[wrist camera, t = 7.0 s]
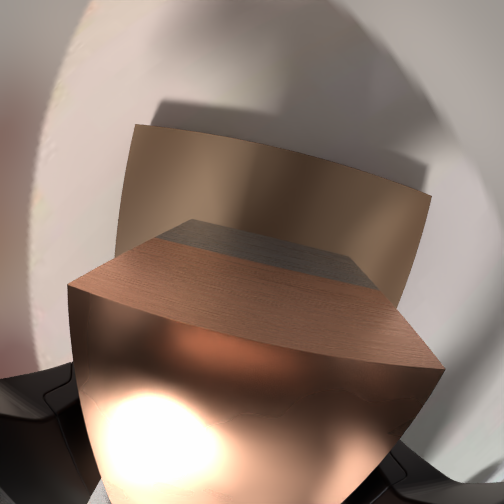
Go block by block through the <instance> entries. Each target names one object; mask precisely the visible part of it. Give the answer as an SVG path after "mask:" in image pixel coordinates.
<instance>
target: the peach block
mask: <svg viewBox="0 0 504 504" xmlns="http://www.w3.org/2000/svg"><path fill="white" fill-rule="evenodd" d="M67 288H68V312H69V326H70V337H71V346H72V354H73V362H74V369H75V375H76V381H77V387H78V392H79V397H80V402H81V407H82V412H83V416H84V420H85V424H86V428H87V432H88V436H89V440H90V443H91V447H92V450H93V453H94V457H95V460H96V463H97V466H98V469H99V472H100V475H101V478H102V481H103V483H104V486H105V489H106V491H107V494H108V496H109V499H110V501H111V504H341V503H342V502H343V501H344V500H345V499H346V498H347V497H348V496H349V495H350V494H351V493H352V492H353V491H354V490H355V489H356V488H357V487H358V486H359V485H360V484H361V483H362V482H363V481H364V480H365V479H366V478H367V477H368V476H369V474H370V473H371V472H372V471H373V470H374V469H375V468H376V467H377V466H378V464H379V463H380V462H381V461H382V460H383V459H384V457H385V456H386V455H387V454H388V453H389V451H390V450H391V449H392V448H393V447H394V445H395V444H396V443H397V441H398V440H399V439H400V438H401V436H402V435H403V434H404V432H405V431H406V430H407V428H408V427H409V426H410V424H411V423H412V421H413V420H414V419H415V417H416V416H417V414H418V413H419V411H420V410H421V408H422V407H423V405H424V404H425V402H426V401H427V399H428V398H429V396H430V395H431V393H432V391H433V390H434V388H435V386H436V385H437V383H438V381H439V380H440V378H441V376H442V375H443V373H444V371H445V368H444V366H443V365H442V364H441V363H440V361H439V360H438V359H437V357H436V356H435V355H434V354H433V352H432V351H431V350H430V349H429V347H428V346H427V345H426V344H425V342H424V341H423V340H422V339H421V338H420V336H419V335H418V334H417V333H416V332H415V330H414V329H413V328H412V327H411V326H410V324H409V323H408V322H407V321H406V320H405V318H404V317H403V316H402V315H401V314H400V313H399V311H398V310H397V309H396V308H395V307H394V306H393V304H392V303H391V302H390V301H389V300H388V299H387V298H386V296H385V295H384V294H383V293H382V292H381V291H380V290H379V289H378V287H377V286H376V285H375V284H374V283H373V282H372V281H371V280H370V279H369V278H368V276H367V275H366V274H365V273H364V272H363V271H362V270H361V269H360V268H359V267H358V266H357V264H356V263H355V262H354V261H353V260H352V259H351V258H350V257H349V256H346V255H342V254H338V253H334V252H330V251H326V250H322V249H318V248H314V247H310V246H305V245H301V244H297V243H293V242H289V241H285V240H281V239H277V238H272V237H268V236H264V235H260V234H256V233H251V232H247V231H243V230H239V229H234V228H230V227H226V226H221V225H217V224H213V223H208V222H204V221H199V220H195V219H190V220H188V221H186V222H184V223H182V224H180V225H178V226H176V227H174V228H172V229H170V230H168V231H166V232H164V233H162V234H160V235H158V236H156V237H154V238H152V239H150V240H148V241H146V242H144V243H142V244H140V245H138V246H137V247H135V248H133V249H131V250H129V251H127V252H125V253H123V254H121V255H119V256H118V257H116V258H114V259H112V260H110V261H108V262H106V263H105V264H103V265H101V266H99V267H97V268H95V269H94V270H92V271H90V272H88V273H86V274H85V275H83V276H81V277H79V278H78V279H76V280H74V281H72V282H71V283H69V284H67Z"/></svg>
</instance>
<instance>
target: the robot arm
mask: <svg viewBox="0 0 504 504" xmlns="http://www.w3.org/2000/svg"><path fill="white" fill-rule="evenodd" d="M100 479H101V475H100V472H99V469H98V466H97V463H96V460H95V457H94V453H93V450H92V447H91V443H90V440H89V436H88V432H87V428H86V424H85V420H84V416H83V412H82V407H81V402H80V397H79V392H78V387H77V381H76V375H75V369H74V362H72V363H71V362H69V363H66V364H63V365H60V366H57V367H54V368H50V369H47V370H43V371H38V372H34V373H30V374H24V375H19V376H14V377H9V378H3V379H0V504H87V503H88V501H89V499H90V496H91V495H92V494H93V492H94V490H95V488H96V486H97V485H98V483H99V481H100ZM341 504H504V482H496V483H460V482H457V481H454V480H452V479H450V478H448V477H447V476H445V475H444V474H443V473H441V472H440V471H439V470H437V469H436V468H434V467H433V466H432V465H430V464H429V463H428V462H426V461H425V460H424V459H422V458H421V457H420V456H418V455H417V454H416V453H415V452H413V451H412V450H411V449H410V448H409V447H408V446H406V445H405V444H404V443H403V442H402V441H401V440H400V439H399V440H398V441H397V443H396V444H395V445H394V447H393V448H392V449H391V450H390V451H389V453H388V454H387V455H386V456H385V457H384V459H383V460H382V461H381V462H380V463H379V464H378V466H377V467H376V468H375V469H374V470H373V471H372V472H371V473H370V474H369V476H368V477H367V478H366V479H365V480H364V481H363V482H362V483H361V484H360V485H359V486H358V487H357V488H356V489H355V490H354V491H353V492H352V493H351V494H350V495H349V496H348V497H347V498H346V499H345V500H344V501H343V502H342V503H341Z"/></svg>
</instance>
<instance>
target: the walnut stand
mask: <svg viewBox="0 0 504 504" xmlns="http://www.w3.org/2000/svg"><path fill="white" fill-rule="evenodd" d="M431 198H432V196H431V195H428V194H426V193H423V192H421V191H418V190H415V189H413V188H410V187H407V186H405V185H402V184H399V183H397V182H394V181H391V180H388V179H385V178H382V177H379V176H376V175H373V174H370V173H367V172H364V171H361V170H358V169H355V168H352V167H348V166H345V165H342V164H338V163H335V162H331V161H328V160H324V159H321V158H317V157H313V156H310V155H306V154H302V153H298V152H294V151H290V150H286V149H282V148H278V147H273V146H269V145H264V144H260V143H255V142H250V141H245V140H240V139H235V138H230V137H225V136H219V135H213V134H207V133H201V132H195V131H188V130H181V129H174V128H166V127H158V126H149V125H139V124H135V128H134V132H133V137H132V141H131V146H130V151H129V156H128V161H127V166H126V172H125V178H124V184H123V190H122V197H121V203H120V211H119V219H118V227H117V237H116V247H115V258H116V257H118V256H119V255H121V254H123V253H125V252H127V251H129V250H131V249H133V248H135V247H137V246H138V245H140V244H142V243H144V242H146V241H148V240H150V239H152V238H154V237H156V236H158V235H160V234H162V233H164V232H166V231H168V230H170V229H172V228H174V227H176V226H178V225H180V224H182V223H184V222H186V221H188V220H190V219H195V220H199V221H204V222H208V223H213V224H217V225H221V226H226V227H230V228H234V229H239V230H243V231H247V232H251V233H256V234H260V235H264V236H268V237H272V238H277V239H281V240H285V241H289V242H293V243H297V244H301V245H305V246H310V247H314V248H318V249H322V250H326V251H330V252H334V253H338V254H342V255H346V256H349V257H350V258H351V259H352V260H353V261H354V262H355V263H356V264H357V266H358V267H359V268H360V269H361V270H362V271H363V272H364V273H365V274H366V275H367V276H368V278H369V279H370V280H371V281H372V282H373V283H374V284H375V285H376V286H377V287H378V289H379V290H380V291H381V292H382V293H383V294H384V295H385V296H386V298H387V299H388V300H389V301H390V302H391V303H392V304H393V306H394V307H395V308H397V306H398V303H399V301H400V298H401V296H402V293H403V290H404V288H405V285H406V282H407V279H408V276H409V274H410V271H411V268H412V265H413V262H414V259H415V256H416V252H417V249H418V246H419V243H420V239H421V236H422V232H423V229H424V225H425V222H426V218H427V214H428V210H429V206H430V202H431Z"/></svg>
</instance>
